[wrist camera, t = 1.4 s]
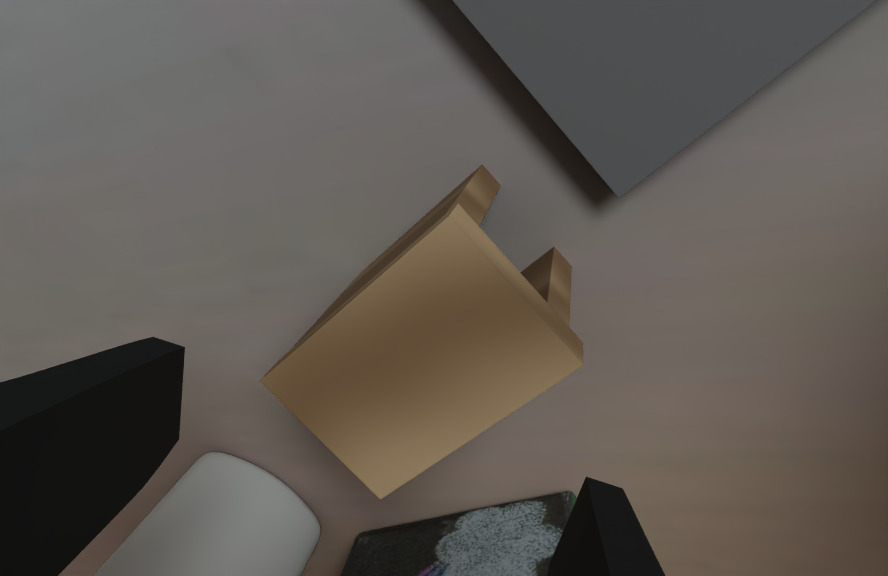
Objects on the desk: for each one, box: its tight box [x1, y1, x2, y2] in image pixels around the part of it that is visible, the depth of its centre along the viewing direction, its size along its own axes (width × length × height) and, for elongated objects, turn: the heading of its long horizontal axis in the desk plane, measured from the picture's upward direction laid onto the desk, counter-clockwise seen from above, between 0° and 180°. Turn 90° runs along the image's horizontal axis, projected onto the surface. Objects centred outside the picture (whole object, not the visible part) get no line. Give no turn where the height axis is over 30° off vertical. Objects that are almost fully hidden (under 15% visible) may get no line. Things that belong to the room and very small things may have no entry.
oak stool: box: [260, 165, 583, 499], centre depth 16 cm, size 4×6×6 cm, turn 133°
